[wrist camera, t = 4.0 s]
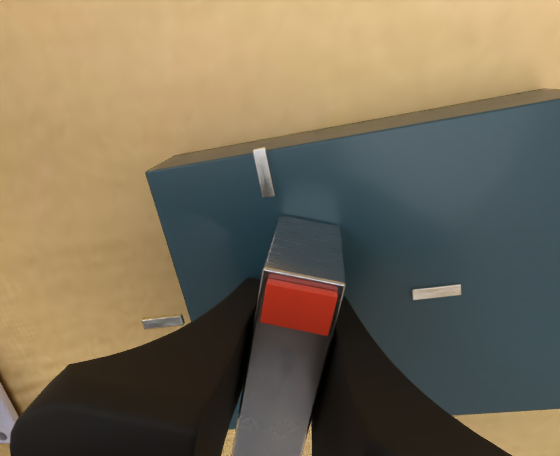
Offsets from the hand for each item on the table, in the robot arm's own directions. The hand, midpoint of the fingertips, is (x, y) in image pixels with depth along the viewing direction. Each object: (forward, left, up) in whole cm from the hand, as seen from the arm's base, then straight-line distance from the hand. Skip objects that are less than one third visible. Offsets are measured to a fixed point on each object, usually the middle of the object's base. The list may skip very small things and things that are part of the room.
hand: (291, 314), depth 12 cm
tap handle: (0, 0, 0) cm, 0 cm away
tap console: (+2, 0, -3) cm, 4 cm away
